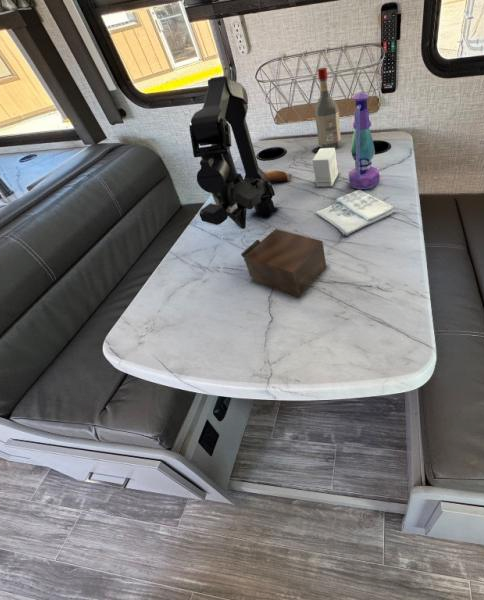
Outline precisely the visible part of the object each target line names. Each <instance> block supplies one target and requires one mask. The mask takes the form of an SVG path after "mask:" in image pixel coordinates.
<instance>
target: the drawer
mask: <svg viewBox="0 0 484 600" xmlns="http://www.w3.org/2000/svg"><path fill="white" fill-rule="evenodd" d="M272 232H273V231H271V232H270V233H269V234H271V233H272ZM264 239H265V238H263V239H262V240H261V241H260V240H259V239H256V240H255V241H254V242H253V243H252V244H251V245H249V246H248V247H247V248H246V249H244V251H242V252H241V253H240V256H241V257H242V258H243V260H244V262H245V265H246V268H247V271H248V273H249V276H250V277H251V278H252V276H251V274H250V271H249V268H248V265H247V263H246V260H245V256H246V255H247V254H248V253H249V252H250V251H252V250H253V249H254V248H255V247H256V246H257V245H258V244H259V243H260V242H262V241H263V240H264Z"/></svg>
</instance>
